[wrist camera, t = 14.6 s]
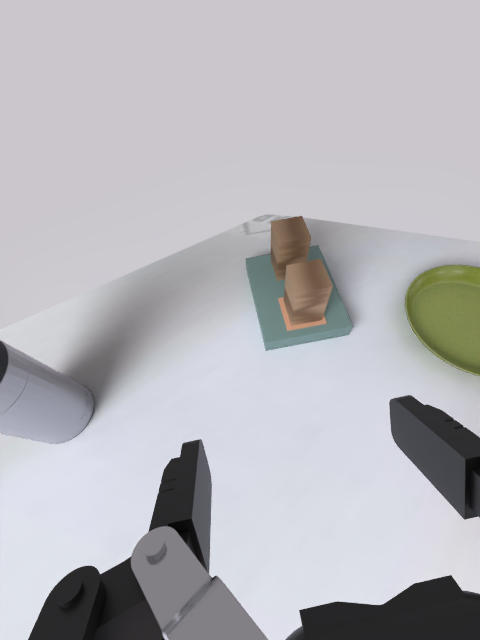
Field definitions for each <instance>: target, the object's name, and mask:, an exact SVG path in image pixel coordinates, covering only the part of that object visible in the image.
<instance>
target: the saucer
mask: <svg viewBox="0 0 480 640" xmlns="http://www.w3.org/2000/svg"><path fill="white" fill-rule="evenodd" d="M405 309H406V314H407V318H408V321H409V323H410V326H411V328H412V329H413V331H414V333H415V334H416V336H417V337H418V339H419V340H420V341H421V342H422V343H423V345H424V346H425V347H426V348H427V349H428V350H430V351H431V352H432V353H433V354H434V355H436V356H437V357H438V358H440V359H441V360H443V361H444V362H446V363H448V364H449V365H451V366H453V367H455V368H457V369H460V370H462V371H465V372H467V373H470V374H473V375H477V376H480V268H479V267H474V266H467V265H445V266H440V267H435V268H432V269H430V270H427V271H425V272H423V273H422V274H420V275H419V276H418V277H417V278H415V279H414V281H413V282H412V283H411V284H410V286H409V288H408V290H407V293H406V298H405Z"/></svg>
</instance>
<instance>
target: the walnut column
mask: <svg viewBox="0 0 480 640" xmlns="http://www.w3.org/2000/svg"><path fill="white" fill-rule="evenodd" d="M310 241H311V236H310V234H309V231H308V229H307V227H306V224H305V222H304V220H303V217H302V216H299V217H293V218H288V219H282V220H277V221H271V263H272V266H273V270H274V273H275V276H276V280H277V281H279V280H284V279H285V277H286V265H290V264H296V263H301V262H306V261H307V258H308V253H309V247H310Z"/></svg>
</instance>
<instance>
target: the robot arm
mask: <svg viewBox="0 0 480 640" xmlns="http://www.w3.org/2000/svg"><path fill="white" fill-rule="evenodd" d="M93 408H94V400H93V396H92V394H91V392H90V390H89V389H88V388H87V387H85V386H83V385H81V384H80V383H78V382H76V381H74V380H72V379H71V378H69V377H67V376H65V375H63V374H62V373H60V372H58V371H56V370H54V369H52V368H51V367H49V366H47V365H45V364H43V363H41V362H39V361H38V360H36V359H34V358H32V357H30V356H28V355H27V354H25V353H23V352H21V351H19V350H17V349H15V348H13V347H12V346H10V345H8V344H6V343H4V342H2V341H0V434H4V435H9V436H14V437H20V438H25V439H30V440H34V441H39V442H45V443H50V444H59V443H64V442H66V441H69V440H71V439H72V438H74V437H76V436H77V435H78V434H79V433H80V432H81V431H82V430H83V429H84V428H85V427H86V425H87V424H88V422H89V420H90V418H91V416H92V413H93ZM390 420H391V432H392V436H393V439H394V441H395V443H396V444H397V446H398V447H399V448H400V449H401V450H402V451H403V452H404V454H405V455H406V456H407V457H408V458H409V459H410V460H411V461H412V462H413V463H414V465H415V466H416V467H417V468H418V469H419V470H420V471H421V472H422V473H423V474H424V476H425V477H426V478H427V479H428V480H429V481H430V482H431V483H432V484H433V485H434V487H435V488H436V489H437V490H438V491H439V492H440V493H441V494H442V495H443V496H444V497H445V499H446V500H447V501H448V502H449V503H450V504H451V505H452V506H453V507H454V508H455V510H456V511H457V512H458V513H459V514H460V515H461V516H462V517H463V518H464V519H469V518H473V517H478V516H479V517H480V438H479V437H478V436H477V435H475V434H474V433H473V432H471V431H470V430H468V429H467V428H466V427H465V428H464V427H463V425H461V424H460V423H459V422H457V421H456V420H455V421H454V419H453V418H452V417H450V416H449V415H448V414H446V413H445V412H443V411H442V410H440V409H437V408H435V407H432V406H430V405H423V404H422V403H420V402H419V401H418V400H416V399H415V398H414V397H412V396H410V395H408V396H403V397H398V398H394V399H391V400H390ZM211 491H212V483H211V474H210V469H209V465H208V461H207V458H206V454H205V450H204V446H203V443H202V440H201V439H200V440H195V441H190V442H186V443H183V444H182V449H181V455H180V457H179V458H174V459H171V461H170V462H169V463H168V465H167V466H166V468H165V469H164V472H163V476H162V480H161V484H160V488H159V493H158V496H157V500H156V504H155V508H154V512H153V516H152V520H151V524H150V528H149V532H148V533H147V534H146V535H145V536H143V537H142V538H141V540H140V541H139V542H138V543H137V545H136V547H135V548H134V550H133V553H132V556H131V557H130V558H128V559H127V560H125V561H124V562H122V563H120V564H119V565H117V566H115V567H113V568H111V569H110V570H108V571H106V572H104V573H102V574H100V573H99V571H98V570H97V568H95V567H93V566H83V567H80V568H78V569H76V570H74V571H72V572H71V573H69V574H68V575H66V576H65V577H64V578H63V579H62V580H61V581H60V582H59V583H58V584H57V585H56V586H55V587H54V588H53V590H52V591H51V593H50V594H49V596H48V597H47V599H46V601H45V603H44V605H43V608H42V610H41V612H40V614H39V617H38V619H37V621H36V623H35V625H34V628H33V630H32V632H31V634H30V637H29V639H28V640H268V639H267V638H266V636H265V635H264V634H263V632H262V631H261V630H260V629H259V627H258V626H257V625H256V624H255V622H254V621H253V620H252V618H251V617H250V616H249V615H248V613H247V612H246V611H245V609H244V608H243V607H242V606H241V604H240V603H239V602H238V601H237V599H236V598H235V597H234V595H233V594H232V593H231V592H230V590H229V589H228V588H227V587H226V585H225V584H224V583H223V582H222V580H221V579H220V578H219V577H217V576H214V577H213V578H212V577H211V576H210V575H209V558H210V525H211ZM299 611H300V616H301V622H302V626H301V627H300V628H298V629H297V630H295V631H294V632H293V633H292V634H291V635H290V636H289V637H287V639H286V640H480V594H478V593H473V592H468V591H462V590H461V588H460V587H459V586H458V584H457V583H456V581H455V580H454V579H453V577H452V576H451V575H450V576H446V577H441V578H437V579H433V580H428V581H424V582H420V583H415V584H413V585H412V586H410V587H409V588H407V589H406V590H404V591H403V592H401V593H400V594H398V595H397V596H395V597H394V598H392V599H391V600H389V601H388V602H386V603H385V604H383V605H369V604H358V603H347V602H333V603H328V604H324V605H320V606H315V607H311V608H307V609H302V610H299Z"/></svg>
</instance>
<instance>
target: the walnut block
mask: <svg viewBox="0 0 480 640" xmlns="http://www.w3.org/2000/svg"><path fill="white" fill-rule="evenodd" d="M332 287H333V285H332V283H331V281H330V278H329V276H328V274H327V271H326V269H325V267H324V265H323V262H322V260H321V259H316V260H311V261H306V262H301V263H296V264H290V265H286V277H285V288H284V300H283V301H284V304H285V308H286V311H287V314H288V317H289V320H290V324H291V326H295V325H300V324H305V323H310V322H315V321H320V320H322V318H323V315H324V312H325V309H326V306H327V303H328V300H329V297H330V294H331V290H332Z"/></svg>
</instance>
